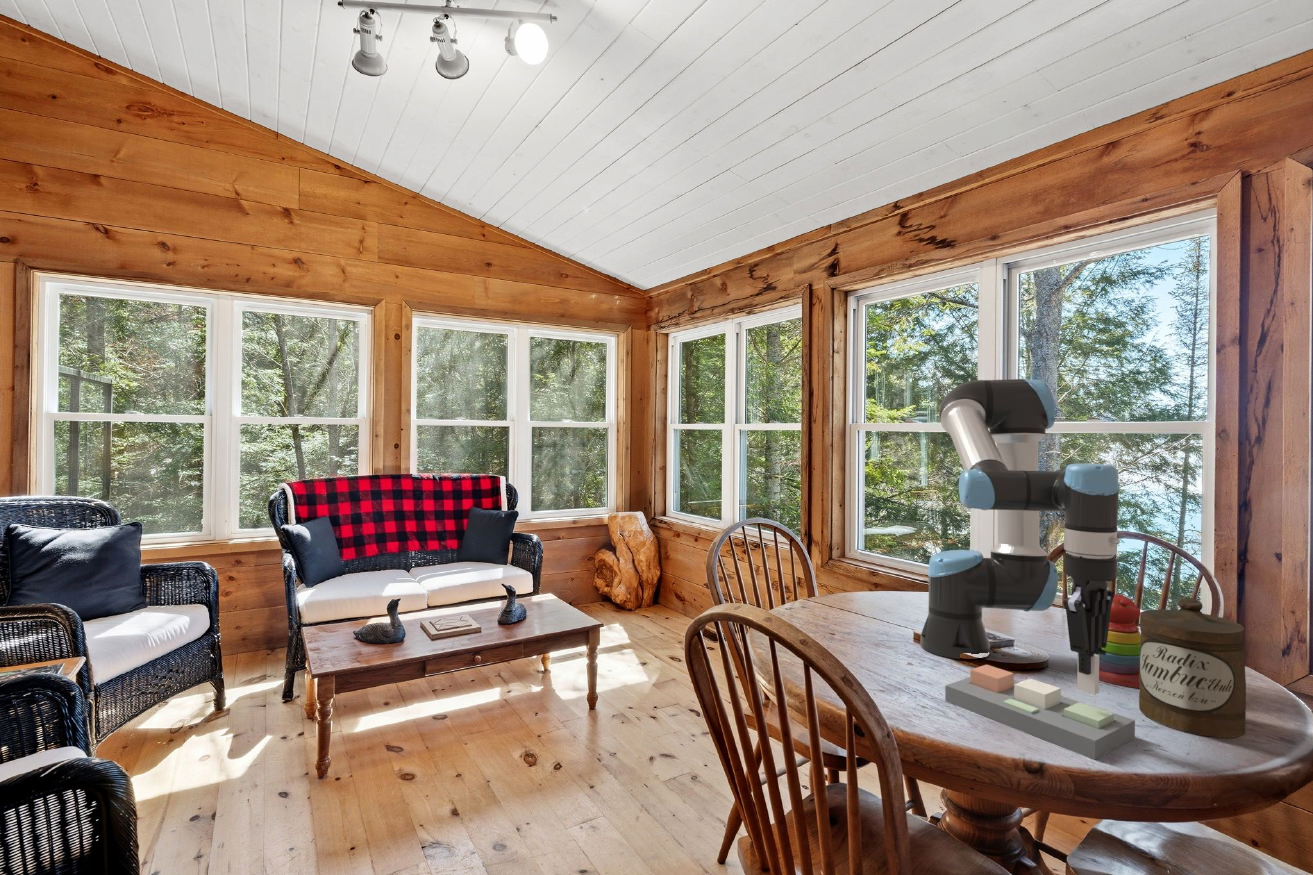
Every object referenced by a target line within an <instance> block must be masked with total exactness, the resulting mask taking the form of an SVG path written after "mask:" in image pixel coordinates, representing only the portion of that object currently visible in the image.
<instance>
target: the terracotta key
mask: <svg viewBox="0 0 1313 875" xmlns="http://www.w3.org/2000/svg"><path fill="white" fill-rule="evenodd" d="M1014 676H1015V674H1014V672H1011V671H1007V670H1005V669H1002V668H998V667H995V666H993V665H990V664H984V665H981V666H978V667H975V668H972V669H970V677H971V680H970V684H973V685H976V686H979V687H981V688H984V689H987V690H990V691H993V692H995V693H1001V692H1004V691H1006V690H1009V689H1012V688H1014V680H1015V679H1014V678H1015V677H1014Z"/></svg>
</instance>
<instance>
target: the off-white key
mask: <svg viewBox="0 0 1313 875" xmlns="http://www.w3.org/2000/svg"><path fill="white" fill-rule="evenodd" d="M1018 682H1019V683H1017V684H1014V699H1015V700H1018V701H1021V702H1024V703H1026V704H1029V705H1032V706H1035V707H1038V708H1041V709H1043V710H1048V709H1050V708H1052V707H1055V706H1057V705H1059V704H1061V696H1062V695H1061V694H1062V692H1061V690H1062V689H1061V687H1057V686H1055V685H1051V684H1048V683H1046V682H1041V681H1039V680H1036V679H1033V678H1027V679H1025V680H1023V681H1022V680H1021V681H1018Z"/></svg>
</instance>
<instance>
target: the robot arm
mask: <svg viewBox="0 0 1313 875" xmlns="http://www.w3.org/2000/svg"><path fill="white" fill-rule="evenodd" d="M1056 413H1057V412H1056V404H1055V399H1054V395H1053V393H1052V390H1051V389H1050V387H1049V385H1048V384H1047V383H1046V382H1045V381H1043V380H1040V379H1027V378H1017V379H1016V378H1015V379H1011V378H1010V379H974V380H968V381H966V382H963V383H961V384H959V385H957V386H955V387H954V388H953V389H952V390H950V391H949V392H948V393H947V394H946V395H945V397H943V399H942V402H941V403H940V406H939V412H938V417H939V421H940V424H941V426H942V428H943V429H944V431H945V432H946V433H948V434H949V435H950V437H951V440H952V443H953V445H954V448H955V450H956V452H957V456H958V459H959V461H960V463H961V466H962V468H963V470H962V471H961V473H960V475H959V479H958V494H959V501H960V503H961V505H962V506H964V508H967V509H977V510H982V511H990V510H992V511H995V510H997V543H996V545H995V546H993V547H992V548H991V549H990V557H984V555H983V553H982V552H981V551H978V550H974V549H969V550H968V549H954V550H951V549H950V550H943V551H940V552H937V553H935V554H933V555H932V556H931V557H930V558H929V561H928V562H929V564H928V571H927V575H928V613H927V617H926V619H925V622H924V625H923V627H922V628H923V629H922V630H921V634H920V640H919V642H920V647H921V648H922V649H923V650H925V651H927V652H929V653H931V654H934V655H938V656H941V657H944V658H950V659H956V660H957V659H958V660H961V659H960V654H962V653H971V654H979V653H988V652H989V651H990V652H991V644H990V641H989V637H988V634H987V631H986V627H985V626H984V622H983V609H985V608H986V609H997V610H1000V609H1001V610H1016V611H1024V612H1033V611H1034V612H1035V611H1036V612H1043V611H1044V612H1045V611H1047V610H1048V609H1050V607H1052V605H1053V604H1054V602H1055V599H1056V596H1057V592H1058V589H1059V574H1058V568H1057V566H1056V563H1054V562H1053V561H1051V560H1050V559H1048V552H1047V551H1045V549H1043V548H1042V547H1041V545H1040V541H1041V540H1040V512H1053V513H1054V512H1058V513H1059V512H1060V513H1064V527H1063V528H1064V530H1063V532H1064V534H1063V536H1064V537H1063V549H1064V550H1065V551H1066V553H1065V554H1063V572H1064V573H1063V574H1065V575H1066V576H1068V577H1071V578H1072V580H1073V581H1072V586H1071V597H1070V598H1067V597H1064V598H1063V601H1062V602H1063V603H1062V604H1063V606H1064V609H1065V613H1066V614H1065V615H1066V623H1067V630H1068V639H1069V640H1068V641H1069V648H1070V649H1069V650H1070V651H1071V652H1073V653H1077V671H1076V672H1077V677H1076V678H1077V679H1076V682H1077V684H1076V687H1077V688H1076V689H1077V690H1078V691H1082V692H1084V693H1088V694H1091V695H1094V696H1095V695H1097V694H1099V693H1100V680H1099V655H1098V654H1102V655H1106V652H1107V651H1105V650H1102V648H1106V645H1107V638H1108V630H1109V622H1110V614H1111V606H1112V602H1113V599H1114V595H1115V594H1116V593H1115V592H1114V590H1108V583H1109V582H1112V581H1116V579H1117V577H1118V573H1117V572H1118V560H1117V558H1116V557H1115V555H1117V553H1118V545H1119V544H1120V543H1121V540H1120V538H1118V521H1119V491H1120V487H1121V486H1120V484H1119V475H1118V474H1119V472H1118V469H1117V468H1116V466H1115V465H1111V464H1101V463H1085V462H1084V463H1079V462H1078V463H1071V464H1068V465H1067V466H1066V468H1065V469H1056V470H1039V443H1040V441H1041V440H1043V439H1044V438H1045V437H1046V430H1048V429H1051V428H1052V427H1053V426H1054V424H1055V421H1056V419H1055V417H1056ZM1107 582H1108V583H1107Z"/></svg>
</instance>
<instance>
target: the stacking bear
mask: <svg viewBox="0 0 1313 875" xmlns="http://www.w3.org/2000/svg"><path fill="white" fill-rule="evenodd" d="M1140 614H1141V610H1140V609H1139V607H1138V606H1136V604H1135V603H1134V602H1133V600H1132V599H1130V598H1129V597H1128V596H1126V595H1123V594H1118V593H1117V594H1116V593H1115V595H1114V599H1113V602H1112V606H1111V614H1110V622H1109V630H1108V638H1107V645H1106V648H1102V650H1105V651H1107V652H1106V655H1102V654H1098V655H1099V681H1102V682H1106V683H1108V684H1109V683H1110V684H1113V685H1117V686H1121V687H1127V688H1134V689H1139V668H1140V645H1141V631H1140V627H1138V626H1137V624H1136V623H1135V622H1136V621H1137V620H1138V618H1140Z"/></svg>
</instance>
